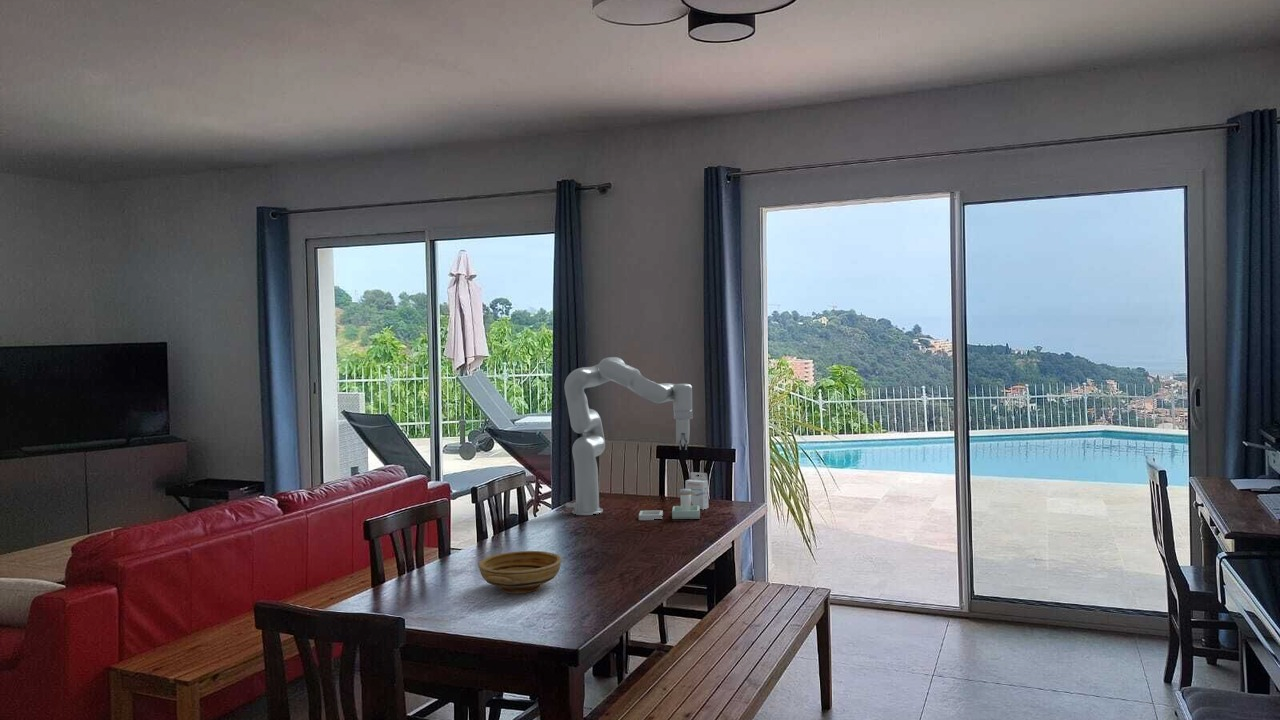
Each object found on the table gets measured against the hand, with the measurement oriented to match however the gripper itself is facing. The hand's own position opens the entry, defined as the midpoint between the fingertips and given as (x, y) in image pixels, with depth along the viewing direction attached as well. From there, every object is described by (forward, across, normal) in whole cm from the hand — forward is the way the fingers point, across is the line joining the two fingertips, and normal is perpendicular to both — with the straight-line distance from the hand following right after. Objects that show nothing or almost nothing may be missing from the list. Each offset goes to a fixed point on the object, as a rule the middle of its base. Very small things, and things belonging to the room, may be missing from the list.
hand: (683, 458), depth 348 cm
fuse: (+22, 0, 0) cm, 22 cm away
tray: (+23, 0, 0) cm, 23 cm away
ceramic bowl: (+24, +97, -45) cm, 109 cm away
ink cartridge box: (+24, -18, +4) cm, 30 cm away
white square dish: (+24, 0, -14) cm, 27 cm away
